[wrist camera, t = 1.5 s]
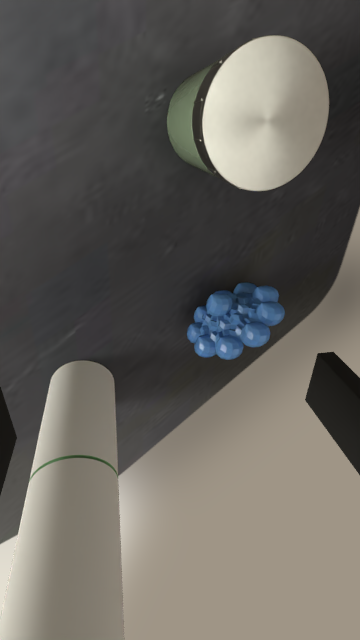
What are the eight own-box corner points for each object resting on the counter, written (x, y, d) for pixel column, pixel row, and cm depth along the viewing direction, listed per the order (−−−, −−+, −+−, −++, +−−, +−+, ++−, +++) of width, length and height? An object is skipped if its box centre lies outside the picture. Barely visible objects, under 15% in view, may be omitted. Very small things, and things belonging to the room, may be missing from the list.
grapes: (236, 243, 40) (281, 282, 30) (263, 281, 44) (311, 329, 33) (162, 302, 42) (180, 358, 32) (193, 334, 46) (218, 394, 35)
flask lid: (169, 93, 22) (177, 89, 20) (282, 15, 21) (307, 0, 19) (223, 206, 26) (235, 214, 24) (319, 145, 26) (343, 147, 23)
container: (95, 415, 50) (85, 722, 24) (38, 396, 46) (-44, 734, 20) (125, 374, 47) (151, 671, 21) (68, 350, 43) (17, 674, 18)
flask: (150, 103, 32) (176, 90, 20) (227, 50, 31) (300, 5, 19) (192, 184, 36) (233, 212, 24) (260, 140, 35) (336, 146, 24)
